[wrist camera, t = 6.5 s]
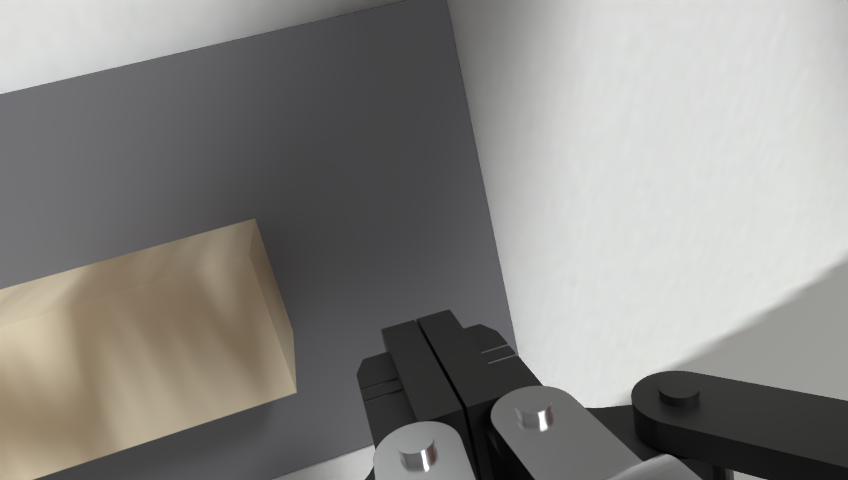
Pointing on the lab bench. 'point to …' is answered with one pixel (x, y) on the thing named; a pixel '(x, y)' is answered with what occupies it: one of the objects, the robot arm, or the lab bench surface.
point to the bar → (139, 349)
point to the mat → (270, 206)
